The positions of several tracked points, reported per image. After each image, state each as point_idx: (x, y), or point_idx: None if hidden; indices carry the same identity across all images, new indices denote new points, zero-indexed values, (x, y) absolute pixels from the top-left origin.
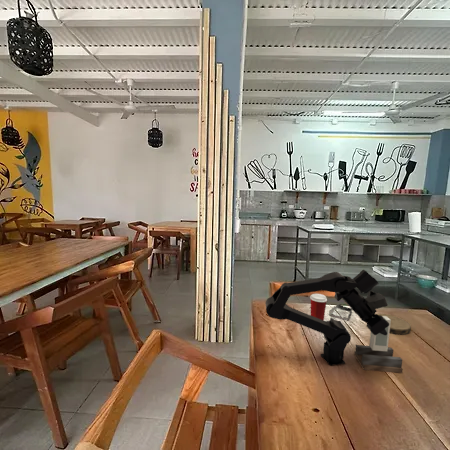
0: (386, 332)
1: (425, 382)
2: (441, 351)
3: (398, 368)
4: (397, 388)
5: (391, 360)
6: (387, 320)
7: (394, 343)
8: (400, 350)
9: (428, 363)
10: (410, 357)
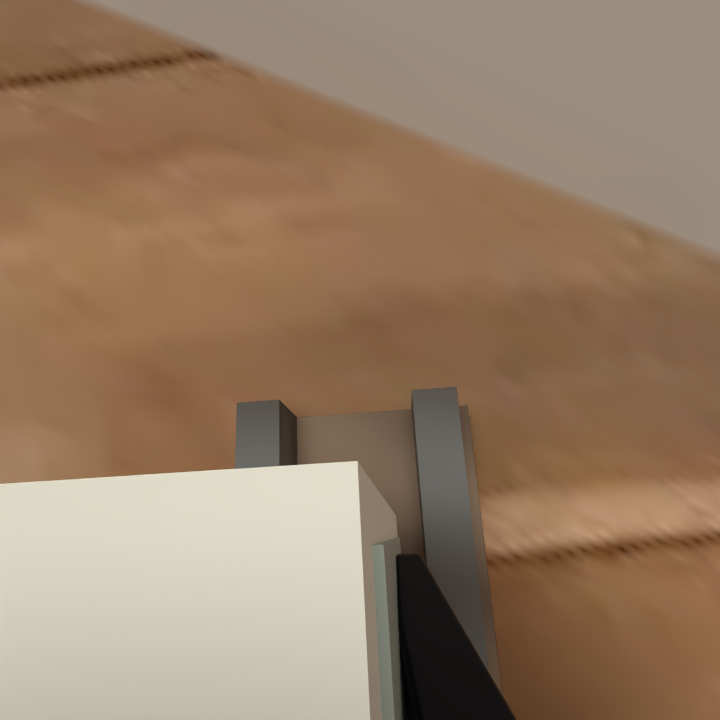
0: (444, 596)
1: (540, 292)
2: (135, 41)
3: (468, 439)
4: (704, 548)
5: (467, 497)
6: (371, 625)
7: (39, 298)
8: (140, 293)
9: (291, 173)
10: (231, 260)
